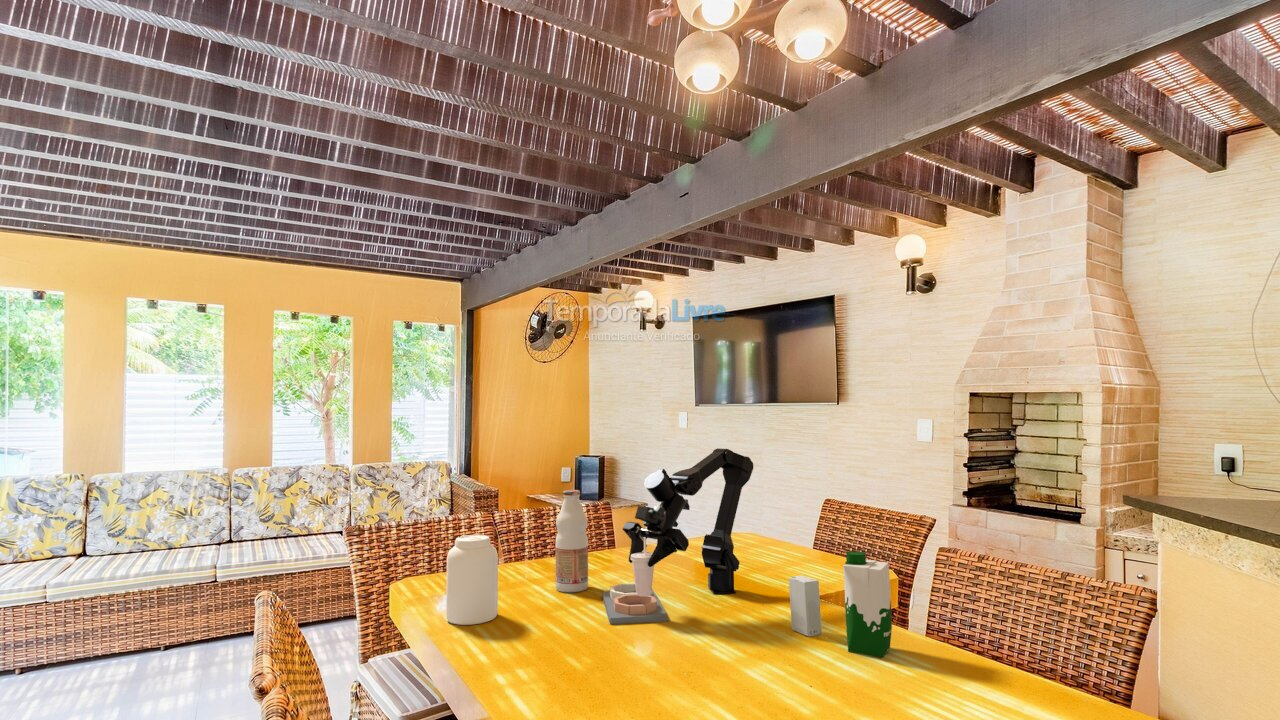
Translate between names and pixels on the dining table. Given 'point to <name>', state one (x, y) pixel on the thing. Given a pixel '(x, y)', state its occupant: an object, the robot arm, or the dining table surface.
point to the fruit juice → (571, 545)
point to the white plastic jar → (472, 581)
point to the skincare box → (805, 605)
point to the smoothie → (642, 572)
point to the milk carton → (867, 605)
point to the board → (632, 605)
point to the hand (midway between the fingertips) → (639, 564)
